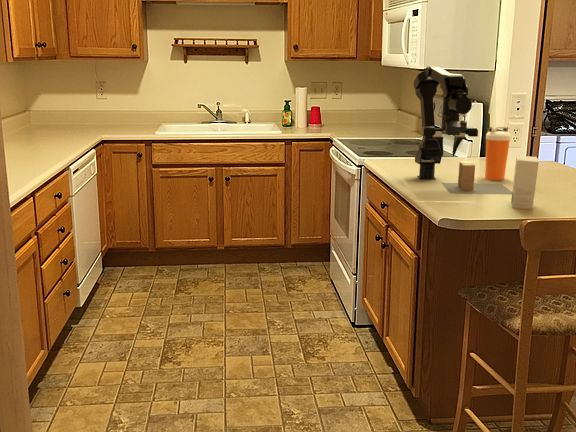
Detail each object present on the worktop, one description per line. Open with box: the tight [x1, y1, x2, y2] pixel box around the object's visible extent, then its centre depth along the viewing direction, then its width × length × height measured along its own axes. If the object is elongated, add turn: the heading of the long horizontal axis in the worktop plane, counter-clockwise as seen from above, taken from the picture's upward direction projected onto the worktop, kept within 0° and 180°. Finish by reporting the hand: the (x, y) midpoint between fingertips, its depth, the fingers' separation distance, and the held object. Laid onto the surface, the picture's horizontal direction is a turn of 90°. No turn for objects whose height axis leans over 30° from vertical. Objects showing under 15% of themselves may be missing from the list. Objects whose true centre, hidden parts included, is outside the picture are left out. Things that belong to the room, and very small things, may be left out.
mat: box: [441, 182, 512, 195], centre depth 230 cm, size 18×22×1 cm
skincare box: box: [510, 155, 539, 211], centre depth 204 cm, size 8×7×16 cm
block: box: [457, 160, 476, 190], centre depth 229 cm, size 7×4×9 cm, turn 177°
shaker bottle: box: [484, 126, 512, 181], centre depth 245 cm, size 9×9×20 cm
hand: (447, 155), depth 227 cm, fingers open, 4 cm apart
